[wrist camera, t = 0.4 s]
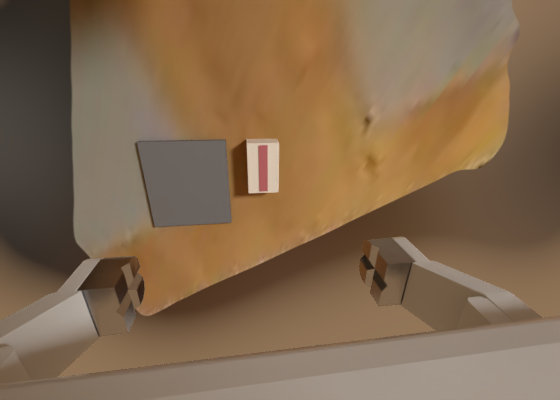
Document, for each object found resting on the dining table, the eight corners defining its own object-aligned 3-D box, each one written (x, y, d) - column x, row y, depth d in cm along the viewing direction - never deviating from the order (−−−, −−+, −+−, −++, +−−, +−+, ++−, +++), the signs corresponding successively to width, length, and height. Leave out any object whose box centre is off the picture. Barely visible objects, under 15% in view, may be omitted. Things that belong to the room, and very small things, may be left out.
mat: (138, 141, 50) (136, 142, 49) (225, 139, 52) (225, 140, 51) (155, 225, 58) (154, 227, 57) (231, 220, 60) (231, 222, 59)
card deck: (246, 138, 53) (246, 143, 49) (276, 138, 54) (279, 143, 50) (247, 186, 57) (248, 193, 53) (275, 184, 58) (278, 192, 54)
